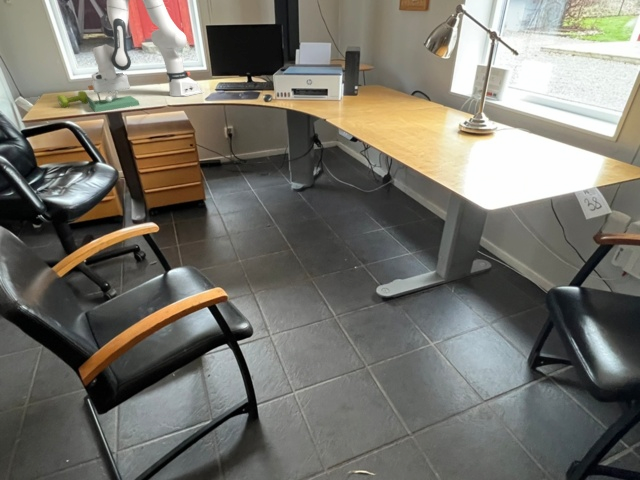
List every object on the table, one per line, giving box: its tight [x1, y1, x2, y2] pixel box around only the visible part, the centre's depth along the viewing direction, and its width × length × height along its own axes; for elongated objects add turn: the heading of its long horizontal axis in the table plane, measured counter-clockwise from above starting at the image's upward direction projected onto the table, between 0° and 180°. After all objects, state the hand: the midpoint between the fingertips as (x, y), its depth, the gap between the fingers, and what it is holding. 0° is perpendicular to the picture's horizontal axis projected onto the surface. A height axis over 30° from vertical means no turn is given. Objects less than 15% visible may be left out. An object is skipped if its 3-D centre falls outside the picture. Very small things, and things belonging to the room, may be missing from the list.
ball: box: [104, 95, 112, 102], centre depth 234 cm, size 4×4×4 cm
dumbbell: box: [56, 90, 89, 108], centre depth 239 cm, size 16×8×7 cm, turn 142°
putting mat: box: [87, 85, 140, 113], centre depth 234 cm, size 25×18×12 cm
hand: (115, 98), depth 236 cm, fingers closed
